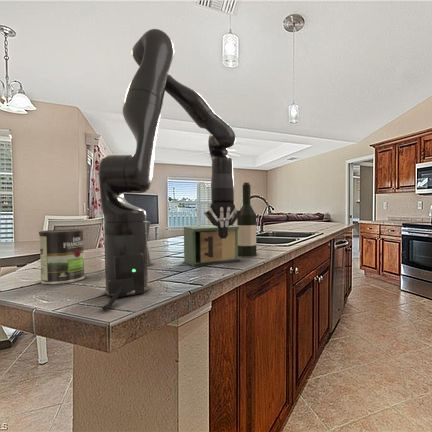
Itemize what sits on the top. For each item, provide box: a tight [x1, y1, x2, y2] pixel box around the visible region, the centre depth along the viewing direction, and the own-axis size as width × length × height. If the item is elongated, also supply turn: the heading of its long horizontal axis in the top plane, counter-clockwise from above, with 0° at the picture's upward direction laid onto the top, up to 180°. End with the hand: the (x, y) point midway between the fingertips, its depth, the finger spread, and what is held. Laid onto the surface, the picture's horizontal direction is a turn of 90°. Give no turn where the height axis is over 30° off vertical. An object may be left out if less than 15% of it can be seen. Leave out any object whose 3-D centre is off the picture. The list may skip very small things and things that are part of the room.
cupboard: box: [183, 224, 240, 267], centre depth 118 cm, size 11×17×13 cm, turn 125°
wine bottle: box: [236, 182, 257, 257], centre depth 134 cm, size 8×8×30 cm
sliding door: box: [200, 231, 222, 263], centre depth 111 cm, size 6×8×11 cm
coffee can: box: [38, 228, 86, 285], centre depth 91 cm, size 10×10×14 cm
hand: (223, 238), depth 109 cm, fingers closed
